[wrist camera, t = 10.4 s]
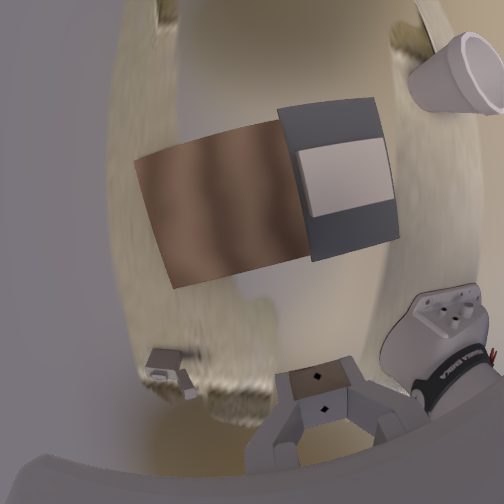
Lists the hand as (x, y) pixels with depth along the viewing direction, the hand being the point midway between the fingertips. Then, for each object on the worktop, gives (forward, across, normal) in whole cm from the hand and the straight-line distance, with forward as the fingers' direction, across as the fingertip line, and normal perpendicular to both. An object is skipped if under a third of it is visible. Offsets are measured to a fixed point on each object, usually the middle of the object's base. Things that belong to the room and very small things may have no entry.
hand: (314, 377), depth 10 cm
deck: (+22, -4, +5) cm, 23 cm away
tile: (+22, +10, +6) cm, 25 cm away
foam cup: (+23, +26, +16) cm, 38 cm away
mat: (+23, +10, +6) cm, 26 cm away
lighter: (+23, -15, -13) cm, 31 cm away
